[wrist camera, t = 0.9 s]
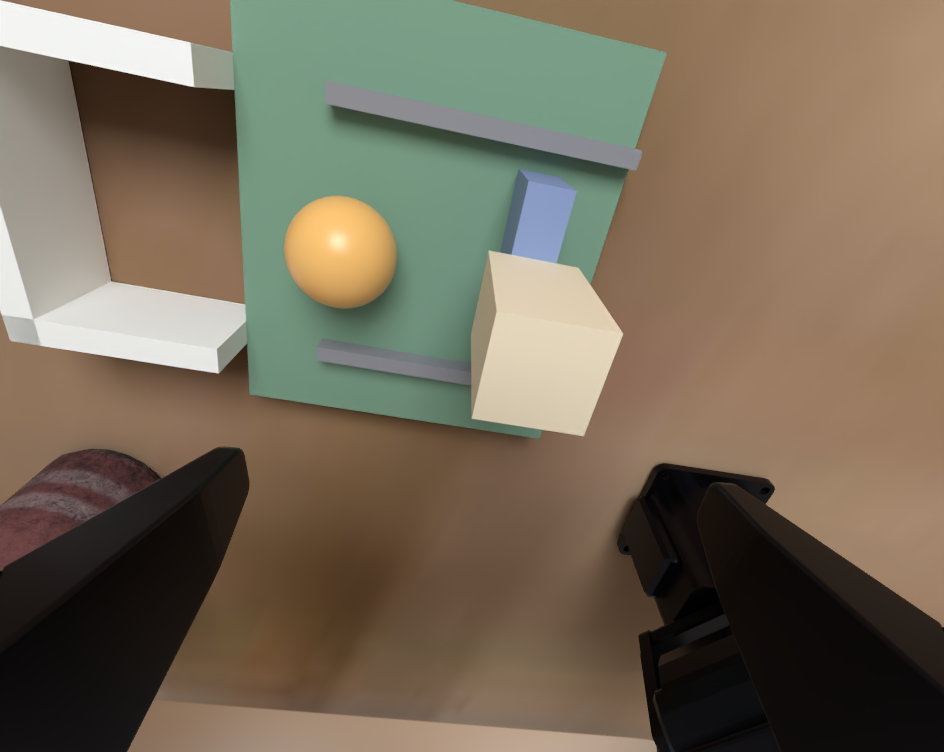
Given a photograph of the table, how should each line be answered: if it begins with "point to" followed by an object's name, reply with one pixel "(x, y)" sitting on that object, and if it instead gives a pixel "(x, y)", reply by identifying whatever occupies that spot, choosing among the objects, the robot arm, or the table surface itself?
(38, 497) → the can
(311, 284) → the ball
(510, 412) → the beige and blue block
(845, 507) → the table surface
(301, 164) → the panel
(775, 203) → the table surface
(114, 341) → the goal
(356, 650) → the table surface
